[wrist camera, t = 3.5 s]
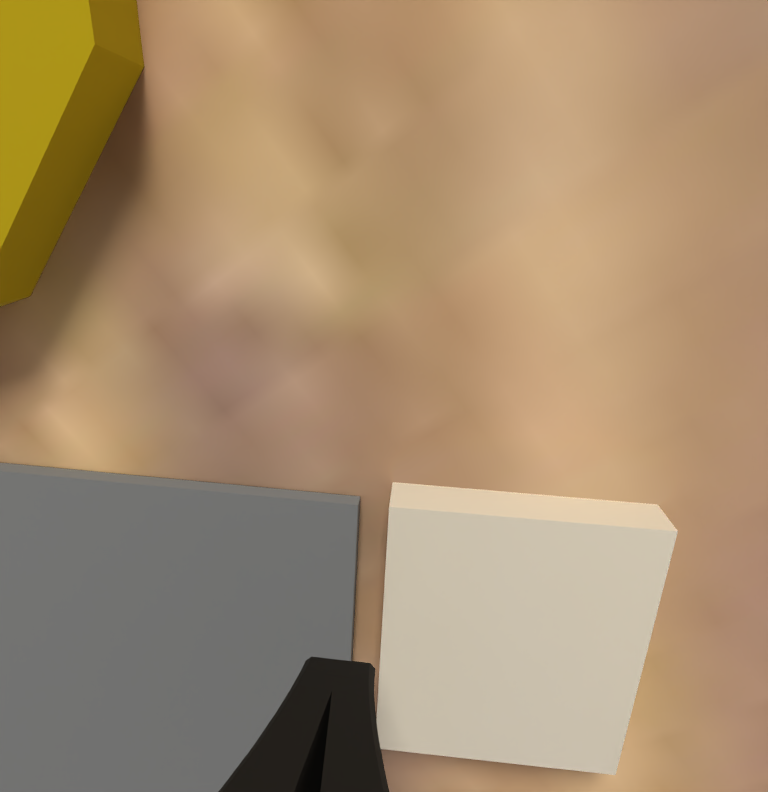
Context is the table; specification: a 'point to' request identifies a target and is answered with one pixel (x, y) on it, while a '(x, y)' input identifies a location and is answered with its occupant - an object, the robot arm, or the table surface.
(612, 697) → the tile
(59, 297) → the table surface
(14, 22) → the decorative disc
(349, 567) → the mat
